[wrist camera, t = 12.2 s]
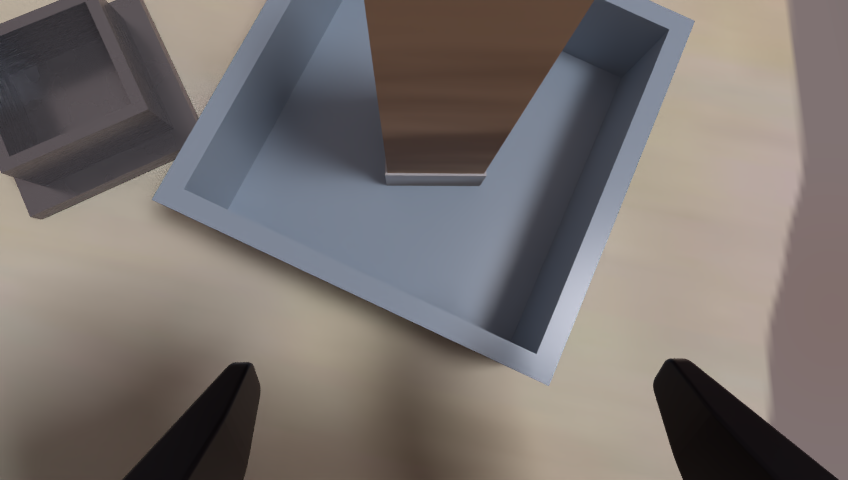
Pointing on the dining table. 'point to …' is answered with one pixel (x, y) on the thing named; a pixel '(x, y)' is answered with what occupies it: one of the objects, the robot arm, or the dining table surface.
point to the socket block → (86, 101)
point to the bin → (430, 205)
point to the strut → (459, 79)
